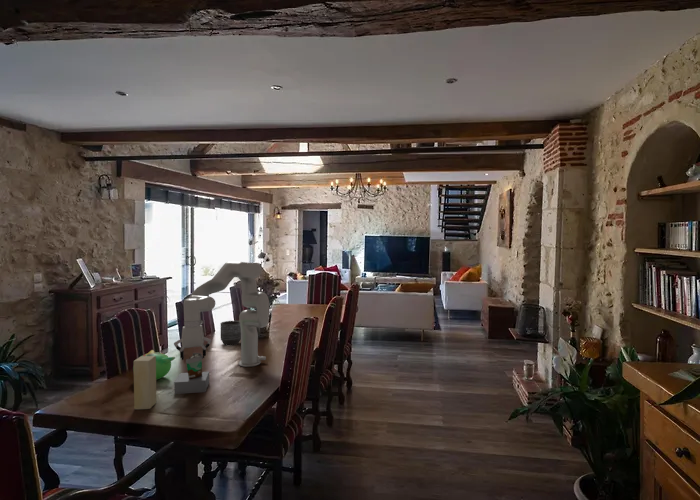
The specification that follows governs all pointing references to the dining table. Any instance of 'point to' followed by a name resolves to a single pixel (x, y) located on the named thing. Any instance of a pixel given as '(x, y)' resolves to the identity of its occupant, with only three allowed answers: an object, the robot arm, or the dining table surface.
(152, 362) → the beige tall block
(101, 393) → the dining table surface
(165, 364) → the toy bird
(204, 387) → the grey block
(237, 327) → the planter
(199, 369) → the food container
